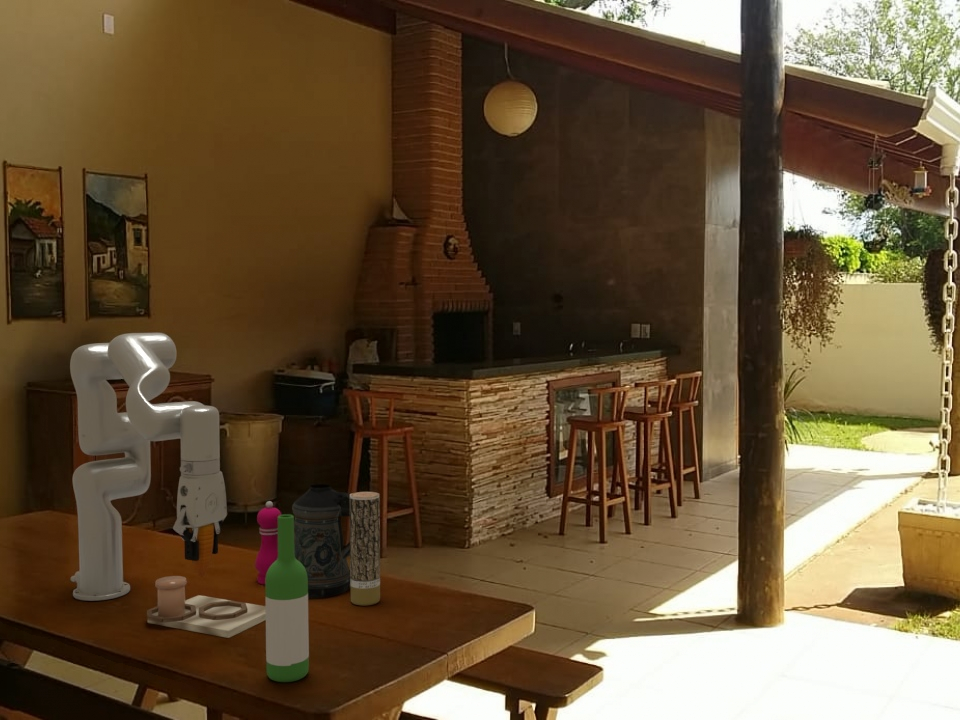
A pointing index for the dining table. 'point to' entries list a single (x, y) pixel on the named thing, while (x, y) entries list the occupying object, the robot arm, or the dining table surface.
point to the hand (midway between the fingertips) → (201, 555)
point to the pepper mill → (267, 540)
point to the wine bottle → (286, 610)
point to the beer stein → (322, 540)
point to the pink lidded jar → (171, 596)
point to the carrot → (204, 548)
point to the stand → (212, 616)
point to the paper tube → (365, 548)
